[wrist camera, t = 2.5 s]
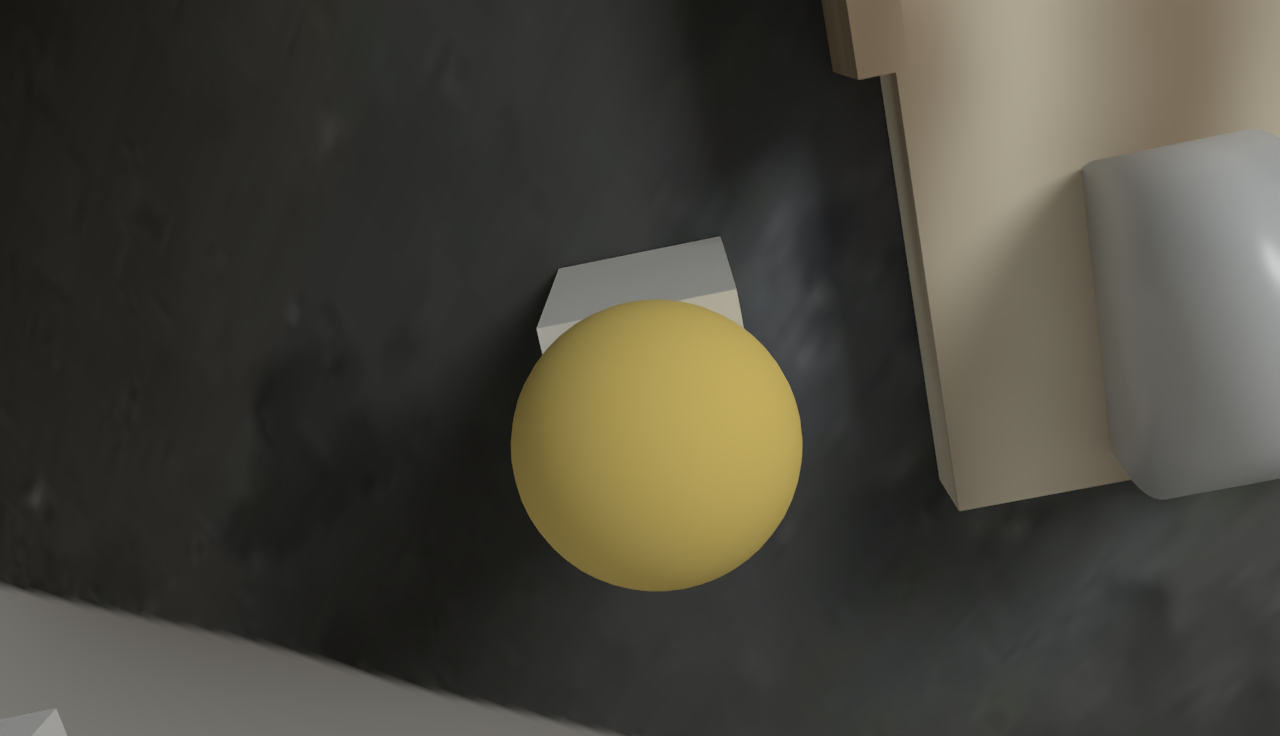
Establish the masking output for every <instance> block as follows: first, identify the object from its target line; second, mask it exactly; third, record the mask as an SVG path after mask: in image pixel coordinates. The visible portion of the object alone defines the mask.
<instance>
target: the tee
mask: <svg viewBox="0 0 1280 736" xmlns="http://www.w3.org/2000/svg"><path fill="white" fill-rule="evenodd" d="M640 300H673V301H681V302H686V303H690V304H694V305H698V306H701V307H704V308H706V309H709V310H711V311H714V312H716V313H719V314H721V315H723V316H724V317H726V318H728V319H730V320H732V321H733V322H735V323H737V324H738V325H740V326H741V327H742V328H744V327H743V322H742V316H741V311H740V306H739V300H738V295H737V290H736V286H735V283H734V280H733V276H732V273H731V270H730V266H729V263H728V260H727V256H726V253H725V250H724V246H723V243H722V240H721V237H720V236H719V237H714V238H709V239H704V240H699V241H694V242H689V243H684V244H679V245H674V246H669V247H664V248H659V249H654V250H649V251H645V252H640V253H635V254H630V255H625V256H620V257H615V258H610V259H605V260H600V261H595V262H590V263H585V264H580V265H575V266H570V267H565V268H560V269H558V272H557V275H556V277H555V280H554V283H553V286H552V288H551V291H550V294H549V296H548V299H547V302H546V304H545V307H544V310H543V312H542V315H541V318H540V320H539V323H538V326H537V328H536V329H537V333H538V338H539V342H540V346H541V350H542V355H543V354H544V352H545V351H546V350H547V348H548V347H549V346H550V345H551V344H552V343H553V342H554V341H555V340H556V339H557V338H558V337H559V336H560V335H562V334H563V333H564V332H566V331H567V330H568V329H569V328H571V327H572V326H573V325H575V324H576V323H578V322H580V321H582V320H583V319H585V318H587V317H589V316H590V315H592V314H594V313H597V312H599V311H602V310H604V309H607V308H609V307H612V306H616V305H619V304H623V303H627V302H633V301H640Z"/></svg>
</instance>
